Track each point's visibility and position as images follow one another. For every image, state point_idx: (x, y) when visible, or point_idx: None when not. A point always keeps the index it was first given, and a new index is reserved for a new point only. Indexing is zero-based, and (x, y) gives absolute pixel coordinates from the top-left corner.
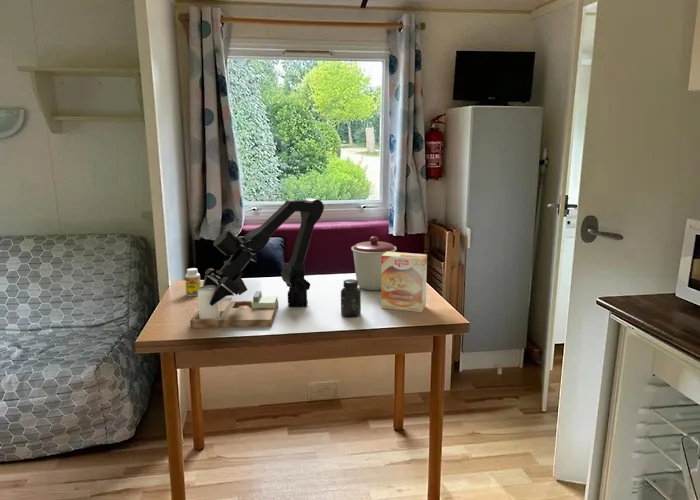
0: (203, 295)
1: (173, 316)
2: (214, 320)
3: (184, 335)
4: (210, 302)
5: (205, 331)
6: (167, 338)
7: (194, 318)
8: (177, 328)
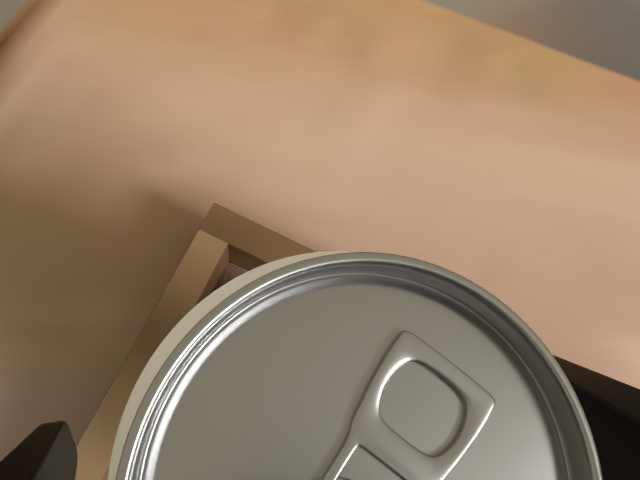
0: (171, 333)
1: (552, 163)
2: (81, 443)
3: (55, 145)
4: (22, 441)
5: (46, 325)
6: (66, 26)
7: (252, 252)
8: (258, 133)
